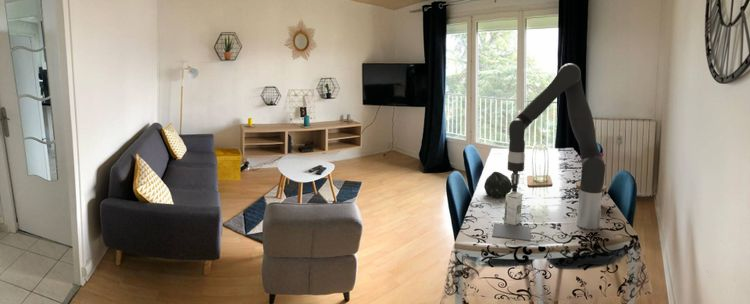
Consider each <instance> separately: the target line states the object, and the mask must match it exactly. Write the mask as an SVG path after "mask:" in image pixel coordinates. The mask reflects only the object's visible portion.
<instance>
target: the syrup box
mask: <svg viewBox="0 0 750 304" xmlns="http://www.w3.org/2000/svg"><path fill="white" fill-rule="evenodd" d="M522 203H523V193H521V192H518V191H517V192H513V191H512V190H511V192H509V193H508V194H506V197H505V206H504V221H503V224H507V225H517V226H518V224H520V223H521V219H522V218H521V217H522V205H523V204H522Z"/></svg>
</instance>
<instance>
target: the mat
mask: <svg viewBox="0 0 750 304" xmlns="http://www.w3.org/2000/svg"><path fill="white" fill-rule="evenodd" d="M491 234H492V235H491V237H492V238H500V239H501V238H502V239H509V240H510V239H512V240H519V241H520V240H521V241H527V242H528V241H529V242H531V226H524V225H518V224H517V225H511V224H506V223H493V228H492V233H491Z"/></svg>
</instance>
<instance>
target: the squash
mask: <svg viewBox="0 0 750 304" xmlns="http://www.w3.org/2000/svg"><path fill="white" fill-rule="evenodd" d="M485 179H486V180H485V182H484V186H483V187H484V190H485V194H486V195H487V196H488V197H491V198H499V199H503V198H506V194H508V193H509V192H511V191H512V184H511V179H509V177H508V176H507V175H505V174H504V173H501V172H499V171H493V172H491V174H490V175H488V176H487V178H485Z"/></svg>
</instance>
